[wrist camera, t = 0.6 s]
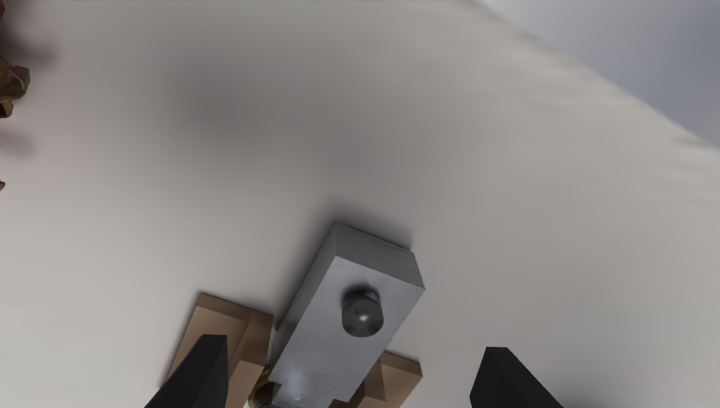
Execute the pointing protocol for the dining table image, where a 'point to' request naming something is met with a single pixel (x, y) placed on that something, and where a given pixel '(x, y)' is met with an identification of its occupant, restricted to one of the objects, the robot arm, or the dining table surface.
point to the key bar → (342, 318)
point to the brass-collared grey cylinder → (262, 392)
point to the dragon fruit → (10, 84)
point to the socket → (249, 350)
